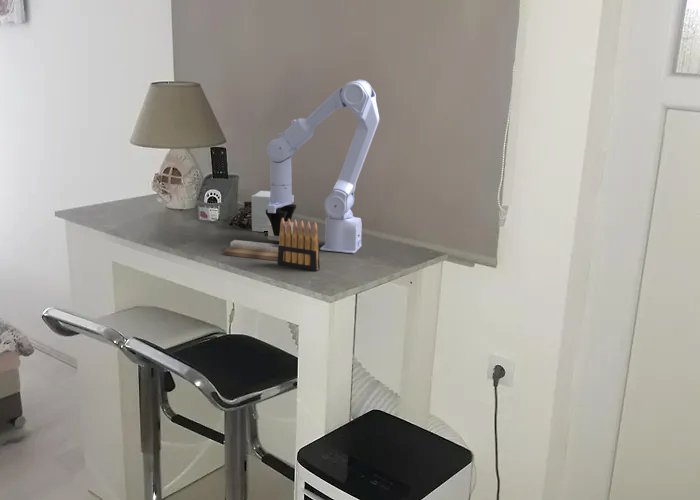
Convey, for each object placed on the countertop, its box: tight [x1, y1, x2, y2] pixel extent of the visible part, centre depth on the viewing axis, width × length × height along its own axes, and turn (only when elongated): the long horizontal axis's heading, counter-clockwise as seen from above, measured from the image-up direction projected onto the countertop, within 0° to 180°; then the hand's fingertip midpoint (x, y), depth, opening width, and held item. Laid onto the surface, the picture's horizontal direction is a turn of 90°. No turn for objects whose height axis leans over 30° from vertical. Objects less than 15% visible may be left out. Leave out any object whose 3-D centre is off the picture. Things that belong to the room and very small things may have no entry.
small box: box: [250, 190, 270, 233], centre depth 202 cm, size 8×6×10 cm
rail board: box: [222, 246, 278, 262], centre depth 179 cm, size 19×9×1 cm, turn 75°
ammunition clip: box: [277, 218, 321, 272], centre depth 168 cm, size 11×2×12 cm, turn 66°
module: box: [267, 221, 294, 242], centre depth 188 cm, size 6×4×4 cm
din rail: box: [230, 239, 279, 253], centre depth 179 cm, size 18×2×2 cm, turn 75°
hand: (281, 233), depth 188 cm, fingers closed on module, 4 cm apart
